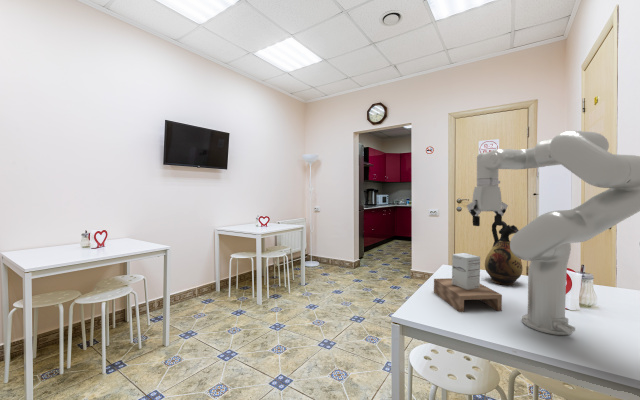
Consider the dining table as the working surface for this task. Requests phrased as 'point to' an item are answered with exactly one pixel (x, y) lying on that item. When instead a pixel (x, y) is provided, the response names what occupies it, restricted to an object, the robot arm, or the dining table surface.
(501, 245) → the ceramic jug
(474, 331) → the dining table surface
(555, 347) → the dining table surface
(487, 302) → the walnut shelf
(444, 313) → the dining table surface
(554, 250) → the robot arm
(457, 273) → the supplement box
